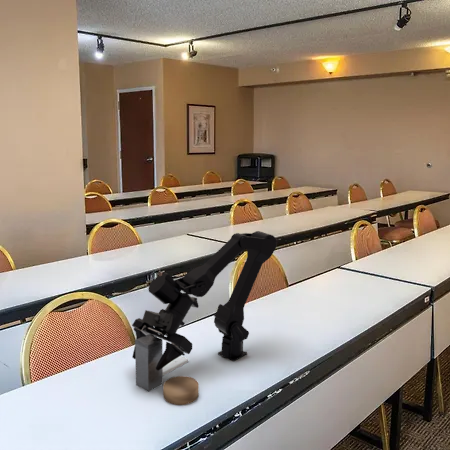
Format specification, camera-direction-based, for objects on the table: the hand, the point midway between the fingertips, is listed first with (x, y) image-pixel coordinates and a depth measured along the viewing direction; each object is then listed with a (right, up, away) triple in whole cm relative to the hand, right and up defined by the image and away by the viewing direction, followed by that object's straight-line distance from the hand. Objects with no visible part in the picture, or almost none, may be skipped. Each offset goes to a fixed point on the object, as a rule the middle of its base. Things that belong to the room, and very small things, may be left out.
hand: (145, 363), depth 133 cm
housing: (+1, -6, +2) cm, 7 cm away
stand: (+10, -7, -2) cm, 12 cm away
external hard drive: (+3, -5, +13) cm, 15 cm away
